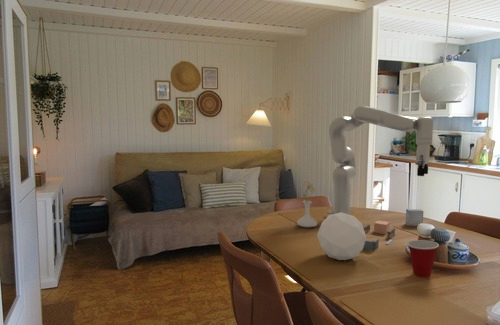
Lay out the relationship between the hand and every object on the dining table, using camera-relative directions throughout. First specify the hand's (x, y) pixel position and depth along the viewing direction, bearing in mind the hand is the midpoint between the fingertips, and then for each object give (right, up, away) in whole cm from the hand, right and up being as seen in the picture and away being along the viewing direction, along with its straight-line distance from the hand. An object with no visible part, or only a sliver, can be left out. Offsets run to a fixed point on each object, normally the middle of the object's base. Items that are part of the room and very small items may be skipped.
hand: (422, 174), depth 191 cm
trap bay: (-37, -32, -21) cm, 54 cm away
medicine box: (+2, -29, +15) cm, 32 cm away
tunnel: (-24, -30, -3) cm, 38 cm away
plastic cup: (-25, -36, -52) cm, 68 cm away
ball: (-51, -34, -35) cm, 70 cm away
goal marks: (-29, -31, -10) cm, 44 cm away
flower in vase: (-57, -29, +14) cm, 66 cm away
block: (-20, -30, +2) cm, 36 cm away
